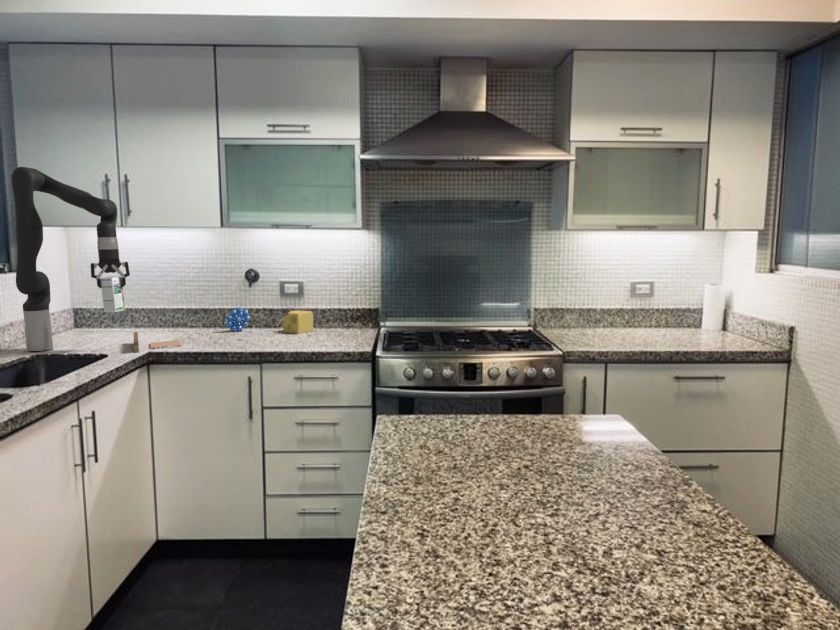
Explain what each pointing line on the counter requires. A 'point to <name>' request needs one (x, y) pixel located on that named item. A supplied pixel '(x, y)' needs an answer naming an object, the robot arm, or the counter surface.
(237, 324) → the grapes
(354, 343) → the counter surface
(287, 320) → the cheese
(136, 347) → the walnut wall
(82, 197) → the robot arm
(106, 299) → the syrup box
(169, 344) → the terracotta tile
